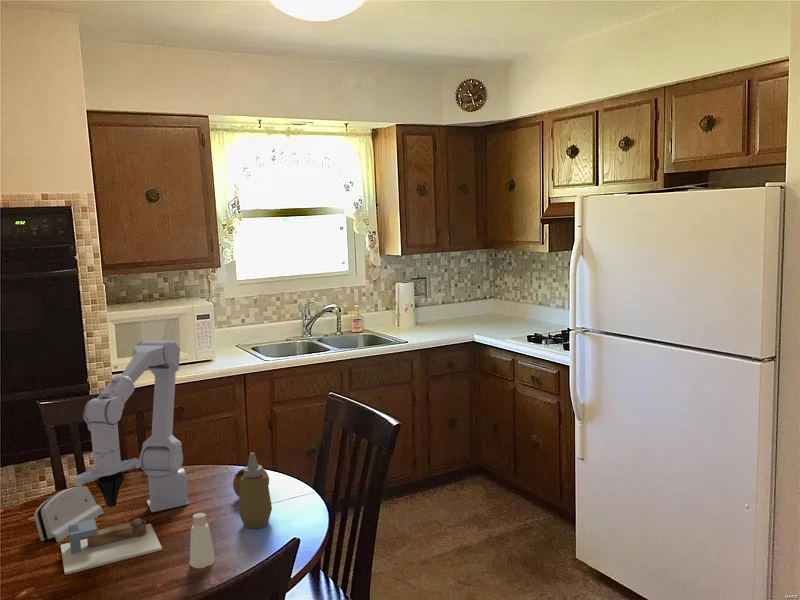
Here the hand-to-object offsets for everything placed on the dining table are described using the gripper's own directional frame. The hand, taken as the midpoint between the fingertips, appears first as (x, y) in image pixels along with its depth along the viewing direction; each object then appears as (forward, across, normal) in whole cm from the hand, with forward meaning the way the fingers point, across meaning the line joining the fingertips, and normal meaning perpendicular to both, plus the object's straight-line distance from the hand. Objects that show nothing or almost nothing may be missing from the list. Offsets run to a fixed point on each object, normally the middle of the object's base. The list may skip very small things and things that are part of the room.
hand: (111, 505), depth 156 cm
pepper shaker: (+10, -8, +24) cm, 27 cm away
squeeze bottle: (+10, -27, +18) cm, 34 cm away
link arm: (+8, -1, 0) cm, 8 cm away
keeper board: (+9, +2, +2) cm, 10 cm away
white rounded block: (+10, +3, -18) cm, 21 cm away
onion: (+10, -36, +4) cm, 37 cm away
